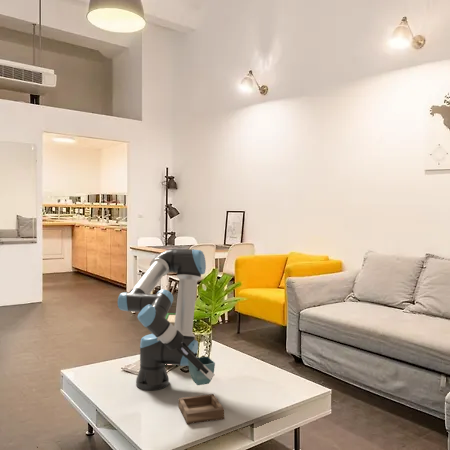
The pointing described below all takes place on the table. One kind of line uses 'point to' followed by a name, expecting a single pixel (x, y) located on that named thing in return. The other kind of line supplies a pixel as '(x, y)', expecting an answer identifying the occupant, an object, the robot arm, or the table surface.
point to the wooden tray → (201, 409)
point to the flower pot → (198, 375)
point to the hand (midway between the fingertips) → (208, 372)
